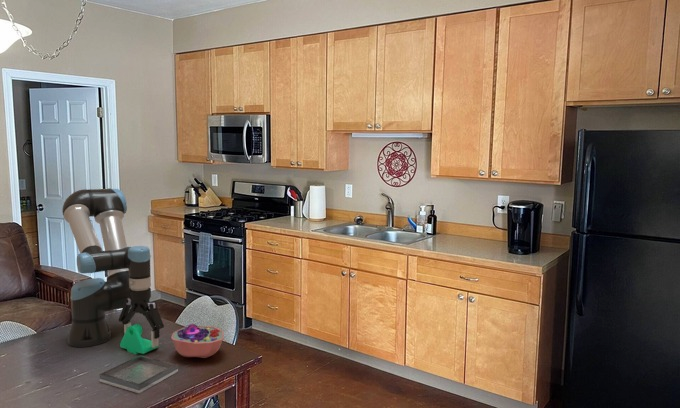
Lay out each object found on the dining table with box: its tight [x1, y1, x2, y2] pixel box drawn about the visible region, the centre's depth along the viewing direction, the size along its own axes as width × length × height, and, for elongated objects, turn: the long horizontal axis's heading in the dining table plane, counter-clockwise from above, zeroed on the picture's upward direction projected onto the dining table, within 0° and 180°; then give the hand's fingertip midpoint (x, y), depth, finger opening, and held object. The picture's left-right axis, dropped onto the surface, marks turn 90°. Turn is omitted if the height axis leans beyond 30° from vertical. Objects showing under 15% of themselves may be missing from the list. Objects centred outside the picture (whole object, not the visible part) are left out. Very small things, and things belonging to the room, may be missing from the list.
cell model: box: [170, 323, 224, 359], centre depth 181 cm, size 17×20×11 cm
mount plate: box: [99, 354, 179, 395], centre depth 164 cm, size 17×17×2 cm
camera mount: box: [119, 323, 159, 355], centre depth 185 cm, size 12×8×10 cm, turn 63°
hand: (141, 343), depth 186 cm, fingers open, 13 cm apart
